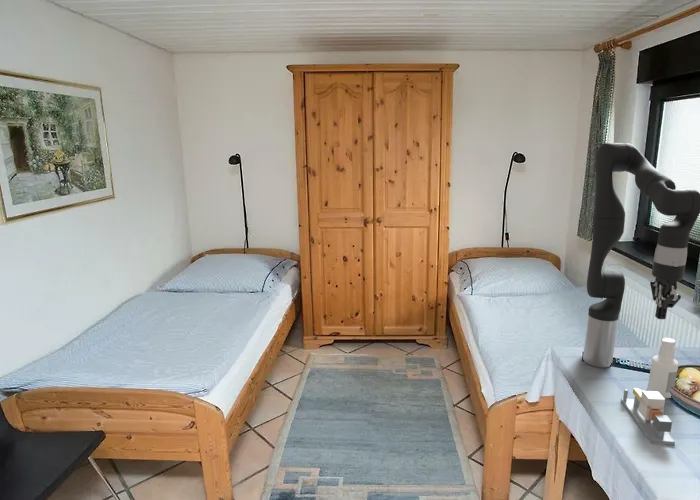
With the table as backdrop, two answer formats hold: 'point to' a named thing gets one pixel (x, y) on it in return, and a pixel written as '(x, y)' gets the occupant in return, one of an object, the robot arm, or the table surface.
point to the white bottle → (663, 369)
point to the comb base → (645, 422)
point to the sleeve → (651, 403)
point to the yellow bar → (656, 415)
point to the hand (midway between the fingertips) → (660, 318)
